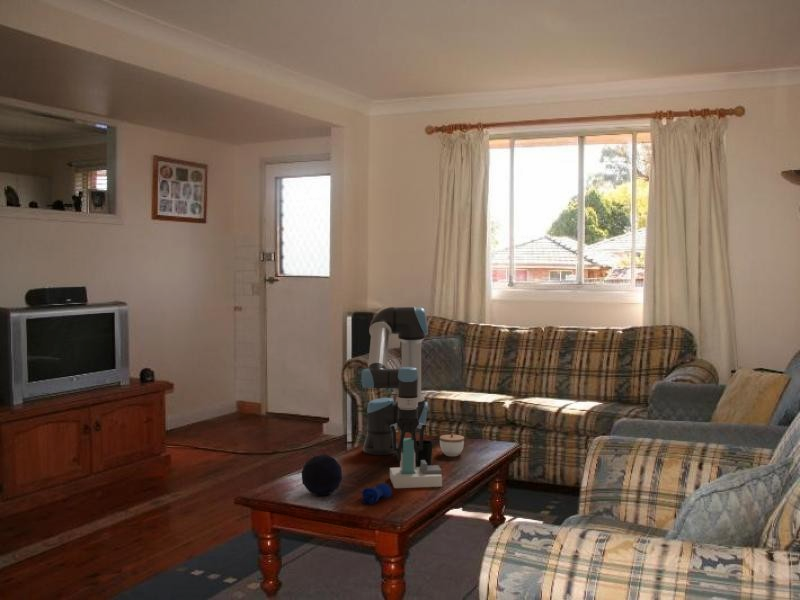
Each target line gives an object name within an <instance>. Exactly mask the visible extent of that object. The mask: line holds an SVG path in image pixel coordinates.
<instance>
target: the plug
mask: <svg viewBox="0 0 800 600" xmlns="http://www.w3.org/2000/svg"><path fill="white" fill-rule="evenodd" d="M401 451H402V452H403V470H402V474H414V440H413V439H412V437H406V438H405V437H404V440H403V445H402V450H401Z"/></svg>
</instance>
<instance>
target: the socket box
mask: <svg viewBox="0 0 800 600" xmlns="http://www.w3.org/2000/svg"><path fill="white" fill-rule="evenodd" d="M389 479H390V481H391V484H392V487H393V488H394V489H407V488H408V489H411V488H412V489H413V488H414V489H415V488H432V487H433V488H438V487H443V475H442V473H435V474H423V473H422V472H421V470H420V467H416V466H415V469H414V474H402V470H401V469H400V466H399V467H389Z"/></svg>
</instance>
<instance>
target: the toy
mask: <svg viewBox="0 0 800 600" xmlns="http://www.w3.org/2000/svg"><path fill="white" fill-rule="evenodd" d="M361 495H362V500H361V504H362V505H366V503H369V506H371V507H373V506H374V504H375V503H377V502H378V501H379V499H380V498H382V499H389V498H391V497H392V487H391V486H390V485H389V484H388V483H385V482H382V483H378V484H377V485H376V486H375V487H365V488H363V490H362V493H361Z"/></svg>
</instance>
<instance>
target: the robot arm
mask: <svg viewBox="0 0 800 600" xmlns="http://www.w3.org/2000/svg"><path fill="white" fill-rule="evenodd" d="M368 329H369V331H368V332H369V335H370V344H369V354H368V362H367V363H368V364H367V368H363V369H362V371H361V385H362V387H363V388H365V389H397V390H398V391H397V393H398V394H397V401H395V399H394V398H393V397H380V398H376V399H372V400H370V401H369V402H368V403H367V411H366V413H367V416H366V417H367V429H366V431H367V432H366V433H367V434H366V436H365V440H364V444H363V445H362V446H363V447H362V450H363V453H365V454H367V455H374V456H384V455H385V456H387V455H388V456H389V455H392V454H396V453H397V455H396V457H397V461H398V462H399V467H400V469H401V470H403V452H402V445H403V440H404V438H405V435H406V434H407V433H410V437H411V438H412V439H413V440H414V469H415V467H416V462H415V460H418V452H419V451H420V450H423V440H424V435H425V434H424V431H425V428H426V423H427V422H426V421H427V416H428V415H427V413H428V405H429V403H428V402H427V401H425V400H426V399H425V396H424V395H422V342H423V341H424V340H425V339H426V335H429V328H428V321H427V313H426V310H425V309H424V308H423V307H416V306H408V307H407V306H400V307H396V306H395V307H394V306H391V307H386V308H384V309H382V310H380V311H379V312H378V313H376V315H375V316H373V318H372V320H371V321H370V325H369V328H368ZM391 335H397V336H398V337H397V338H398V340H399V341H400V343H401V367H399V368H396V369H395V368H387V366H388V356H389V355H388V354H389V353H388V352H389V339H390V337H391ZM397 429H399V430H400V435H399V439H398V440H399V441H398V444H397V431H396V430H397ZM416 429H419V431H418V432H419V435H418V436H419V438H418V441H419V447H417V442H416V441H417V437H416V432H415V431H416Z"/></svg>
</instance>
